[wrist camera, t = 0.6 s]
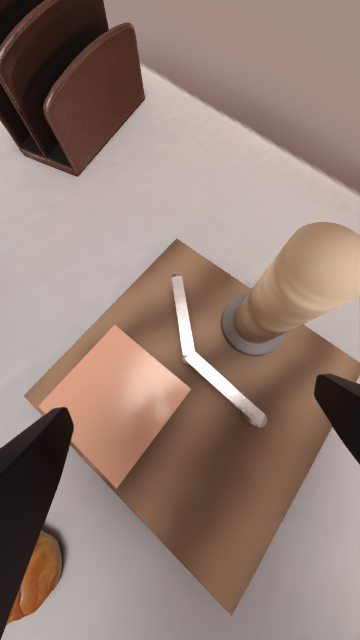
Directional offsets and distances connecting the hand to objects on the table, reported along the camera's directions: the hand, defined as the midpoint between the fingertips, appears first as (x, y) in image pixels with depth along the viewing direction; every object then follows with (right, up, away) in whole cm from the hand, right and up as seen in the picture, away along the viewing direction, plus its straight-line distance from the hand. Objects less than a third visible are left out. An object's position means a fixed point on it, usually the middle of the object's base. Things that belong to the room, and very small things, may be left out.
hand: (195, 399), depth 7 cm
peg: (+7, +2, +14) cm, 16 cm away
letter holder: (-15, +34, +25) cm, 45 cm away
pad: (-7, -5, +12) cm, 14 cm away
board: (+1, -3, +13) cm, 14 cm away
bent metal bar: (+2, 0, +13) cm, 14 cm away
